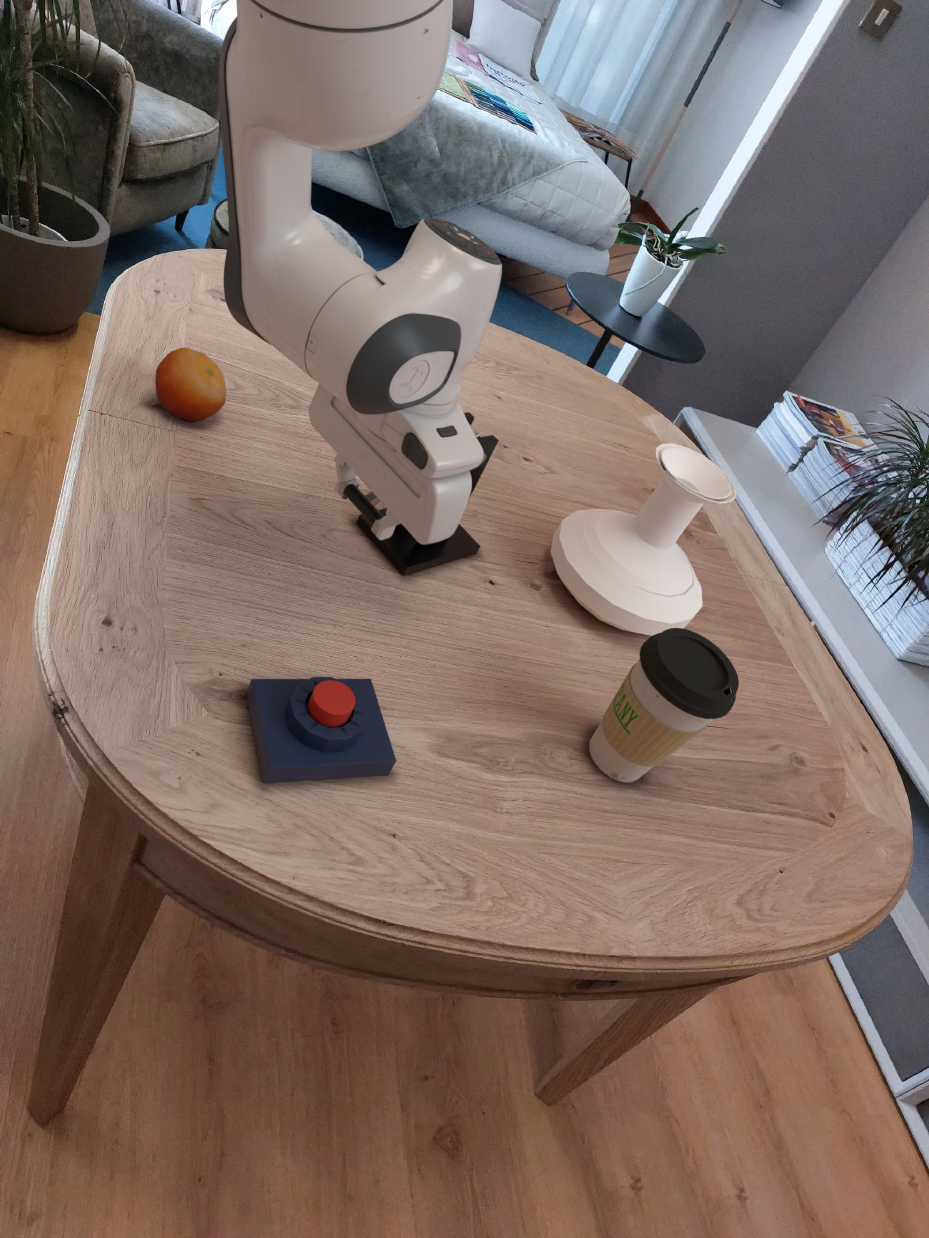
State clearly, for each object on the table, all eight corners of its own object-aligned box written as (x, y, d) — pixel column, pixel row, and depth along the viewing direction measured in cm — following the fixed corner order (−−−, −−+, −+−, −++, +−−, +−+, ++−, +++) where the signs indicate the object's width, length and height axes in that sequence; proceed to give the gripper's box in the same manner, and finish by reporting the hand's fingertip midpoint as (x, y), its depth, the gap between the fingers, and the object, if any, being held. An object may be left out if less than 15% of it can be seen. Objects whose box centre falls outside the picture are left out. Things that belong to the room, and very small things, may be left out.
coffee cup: (608, 704, 91) (684, 610, 81) (674, 772, 87) (762, 682, 78) (554, 739, 84) (631, 641, 74) (624, 814, 80) (714, 721, 71)
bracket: (403, 576, 92) (457, 462, 82) (355, 522, 95) (402, 407, 85) (476, 554, 100) (534, 448, 90) (430, 505, 103) (481, 397, 93)
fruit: (153, 363, 98) (197, 326, 95) (202, 416, 102) (247, 382, 98) (123, 394, 92) (169, 355, 89) (176, 448, 96) (223, 413, 92)
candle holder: (581, 654, 95) (674, 527, 83) (515, 533, 106) (587, 407, 94) (707, 651, 105) (806, 538, 93) (634, 542, 117) (713, 429, 104)
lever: (373, 531, 85) (370, 517, 83) (344, 499, 87) (341, 485, 85) (488, 457, 89) (489, 442, 87) (459, 428, 91) (459, 413, 89)
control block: (262, 783, 67) (274, 755, 65) (245, 694, 73) (256, 665, 70) (388, 775, 73) (403, 748, 70) (363, 693, 78) (377, 665, 76)
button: (312, 728, 68) (318, 715, 67) (303, 693, 71) (309, 680, 69) (353, 726, 70) (359, 714, 69) (344, 692, 72) (350, 679, 71)
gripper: (312, 339, 79) (281, 456, 88) (447, 478, 71) (397, 589, 80) (364, 335, 83) (329, 446, 92) (496, 465, 75) (444, 572, 85)
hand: (362, 514), depth 86 cm, fingers closed on lever, 5 cm apart
